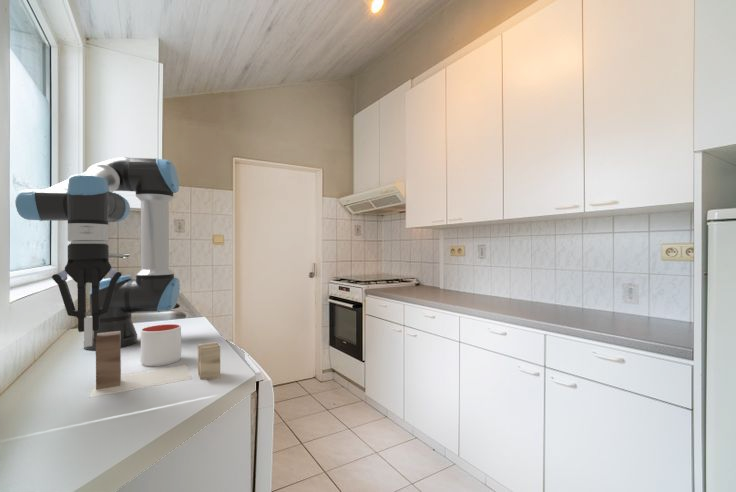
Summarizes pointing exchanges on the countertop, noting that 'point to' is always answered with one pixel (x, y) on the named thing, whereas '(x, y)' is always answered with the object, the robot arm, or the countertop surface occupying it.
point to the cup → (160, 345)
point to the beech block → (209, 361)
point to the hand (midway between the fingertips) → (89, 345)
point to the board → (146, 380)
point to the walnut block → (108, 360)
